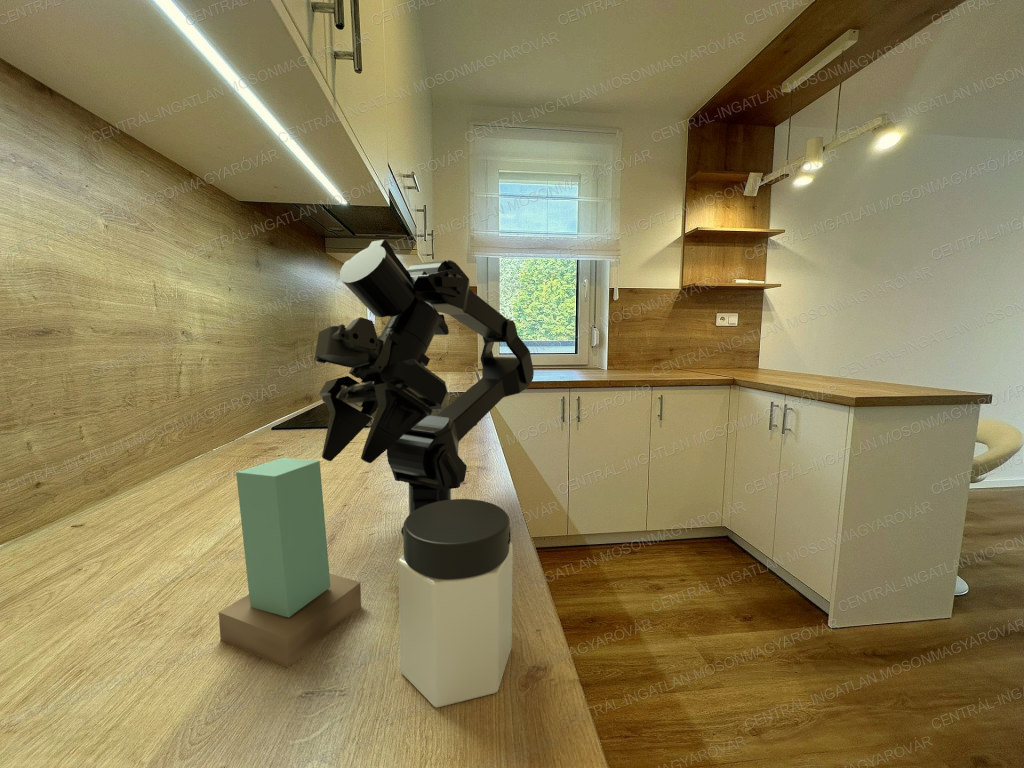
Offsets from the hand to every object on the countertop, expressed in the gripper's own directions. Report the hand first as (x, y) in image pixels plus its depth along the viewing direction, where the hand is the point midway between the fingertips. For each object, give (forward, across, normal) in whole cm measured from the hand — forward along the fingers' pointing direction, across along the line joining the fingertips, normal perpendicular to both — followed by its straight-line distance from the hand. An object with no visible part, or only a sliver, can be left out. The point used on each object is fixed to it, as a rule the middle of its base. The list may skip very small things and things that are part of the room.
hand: (344, 460), depth 43 cm
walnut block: (+15, +1, +3) cm, 15 cm away
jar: (+13, +15, +10) cm, 22 cm away
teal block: (+13, +2, +1) cm, 13 cm away
